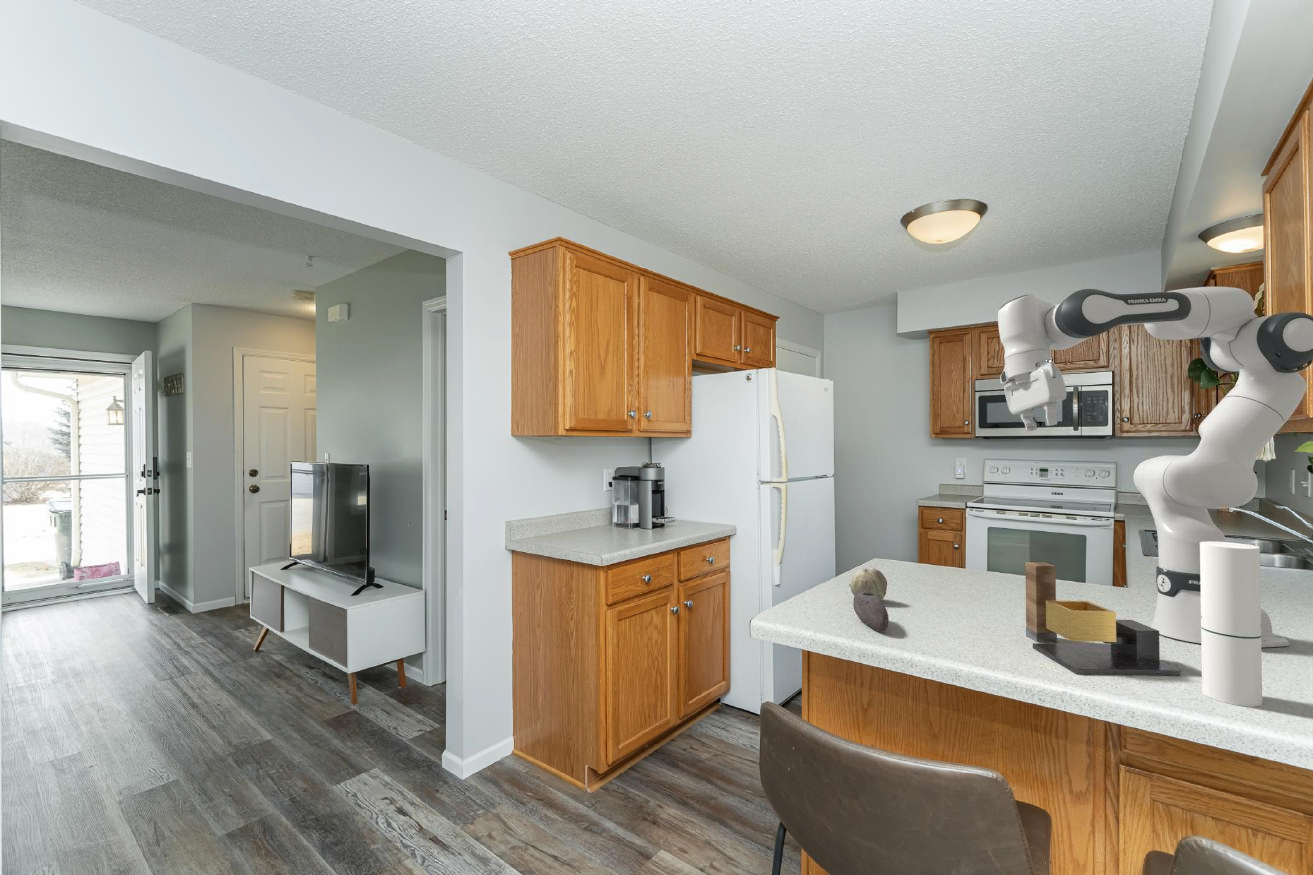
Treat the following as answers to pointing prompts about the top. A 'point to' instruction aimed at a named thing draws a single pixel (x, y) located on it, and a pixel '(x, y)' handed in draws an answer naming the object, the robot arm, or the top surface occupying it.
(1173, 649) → the top surface
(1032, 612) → the rail post
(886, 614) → the perforated stone tool
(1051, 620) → the cup bracket
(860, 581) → the garlic bulb
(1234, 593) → the cylindrical container
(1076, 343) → the robot arm
